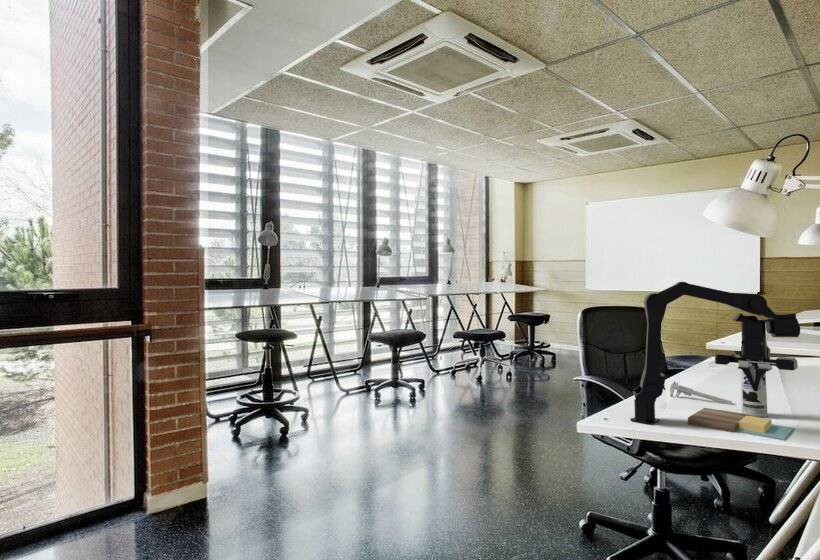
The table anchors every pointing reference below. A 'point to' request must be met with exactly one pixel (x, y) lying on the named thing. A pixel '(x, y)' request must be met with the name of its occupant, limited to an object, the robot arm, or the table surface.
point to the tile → (755, 424)
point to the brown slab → (716, 419)
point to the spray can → (753, 396)
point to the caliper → (695, 393)
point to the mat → (772, 432)
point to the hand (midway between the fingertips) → (755, 391)
